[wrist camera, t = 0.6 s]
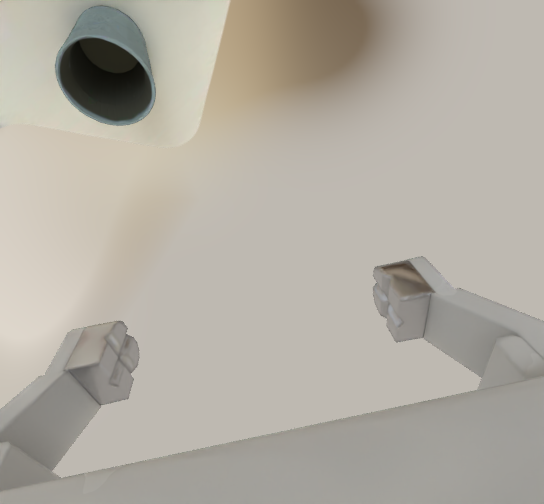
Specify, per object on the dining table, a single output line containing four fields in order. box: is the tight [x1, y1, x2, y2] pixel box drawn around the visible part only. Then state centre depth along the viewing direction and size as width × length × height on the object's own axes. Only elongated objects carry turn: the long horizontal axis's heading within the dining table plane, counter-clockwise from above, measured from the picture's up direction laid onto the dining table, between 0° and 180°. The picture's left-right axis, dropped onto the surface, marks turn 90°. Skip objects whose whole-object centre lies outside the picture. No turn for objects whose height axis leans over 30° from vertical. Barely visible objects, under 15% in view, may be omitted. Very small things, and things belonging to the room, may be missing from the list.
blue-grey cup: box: [55, 6, 156, 126], centre depth 39 cm, size 10×10×12 cm
